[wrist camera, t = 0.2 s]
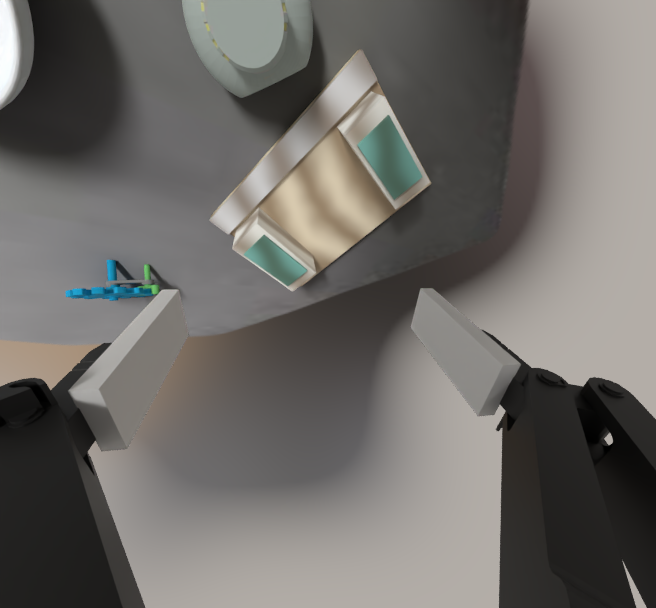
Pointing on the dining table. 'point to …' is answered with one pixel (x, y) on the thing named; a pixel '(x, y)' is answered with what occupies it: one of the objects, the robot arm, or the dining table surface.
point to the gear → (118, 287)
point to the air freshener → (250, 40)
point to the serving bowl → (15, 48)
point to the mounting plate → (324, 181)
